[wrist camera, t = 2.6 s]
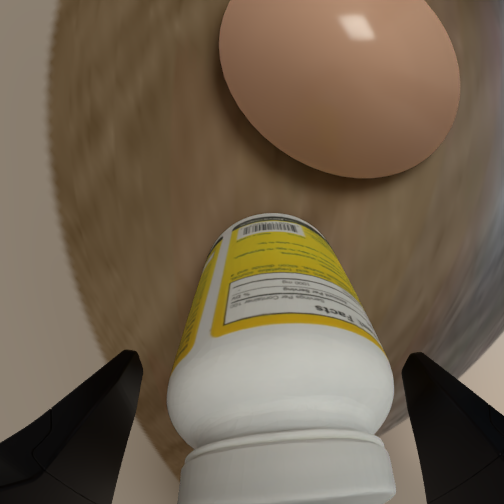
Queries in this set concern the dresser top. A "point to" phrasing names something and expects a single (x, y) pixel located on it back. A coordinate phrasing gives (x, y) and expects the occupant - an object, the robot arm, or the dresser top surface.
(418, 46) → the tan round disc
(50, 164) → the dresser top surface
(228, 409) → the pill bottle
